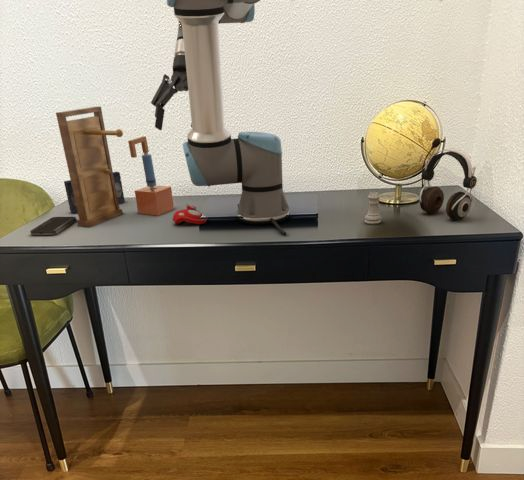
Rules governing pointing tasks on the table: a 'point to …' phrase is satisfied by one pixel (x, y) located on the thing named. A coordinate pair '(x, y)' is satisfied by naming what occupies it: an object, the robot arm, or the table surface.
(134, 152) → the umbrella
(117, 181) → the vhs cassette tape
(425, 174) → the headset
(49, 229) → the phone
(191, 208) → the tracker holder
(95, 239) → the table surface
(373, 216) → the rook chess piece
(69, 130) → the door
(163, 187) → the stand
